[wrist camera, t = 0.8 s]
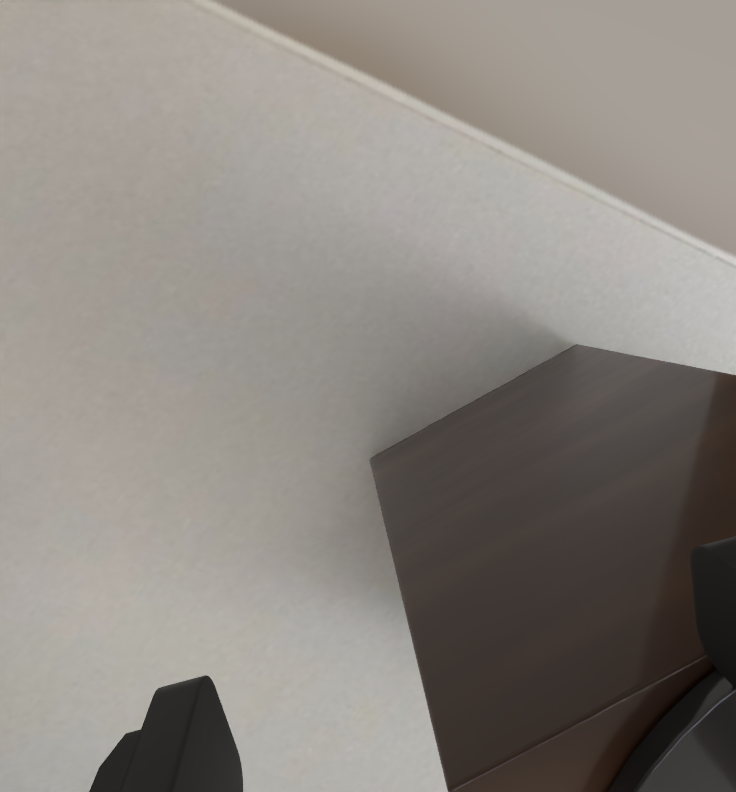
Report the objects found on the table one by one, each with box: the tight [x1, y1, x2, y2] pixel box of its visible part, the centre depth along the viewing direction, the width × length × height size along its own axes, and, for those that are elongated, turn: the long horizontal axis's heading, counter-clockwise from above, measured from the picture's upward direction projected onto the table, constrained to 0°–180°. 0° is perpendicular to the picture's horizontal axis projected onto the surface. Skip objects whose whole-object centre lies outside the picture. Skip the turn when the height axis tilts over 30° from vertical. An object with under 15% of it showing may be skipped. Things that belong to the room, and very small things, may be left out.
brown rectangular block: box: [370, 345, 736, 792], centre depth 20 cm, size 12×12×20 cm
